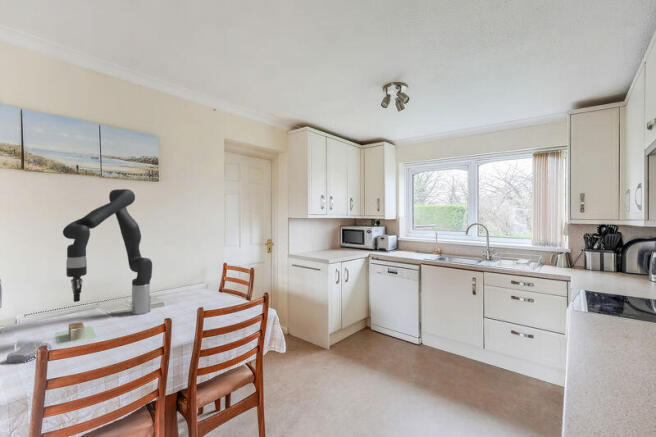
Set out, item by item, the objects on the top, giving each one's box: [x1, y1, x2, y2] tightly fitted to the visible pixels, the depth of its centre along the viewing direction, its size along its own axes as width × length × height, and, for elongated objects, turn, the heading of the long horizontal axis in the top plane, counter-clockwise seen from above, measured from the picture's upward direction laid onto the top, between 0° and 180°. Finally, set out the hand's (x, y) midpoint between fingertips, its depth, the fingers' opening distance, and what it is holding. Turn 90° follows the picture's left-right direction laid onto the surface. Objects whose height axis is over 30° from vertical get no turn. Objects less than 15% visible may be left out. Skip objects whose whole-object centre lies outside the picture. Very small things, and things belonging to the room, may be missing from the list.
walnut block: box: [68, 321, 86, 341], centre depth 144 cm, size 5×5×10 cm
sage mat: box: [54, 325, 98, 346], centre depth 146 cm, size 14×18×1 cm
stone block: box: [6, 341, 53, 364], centre depth 126 cm, size 12×5×10 cm
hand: (76, 301), depth 145 cm, fingers closed
